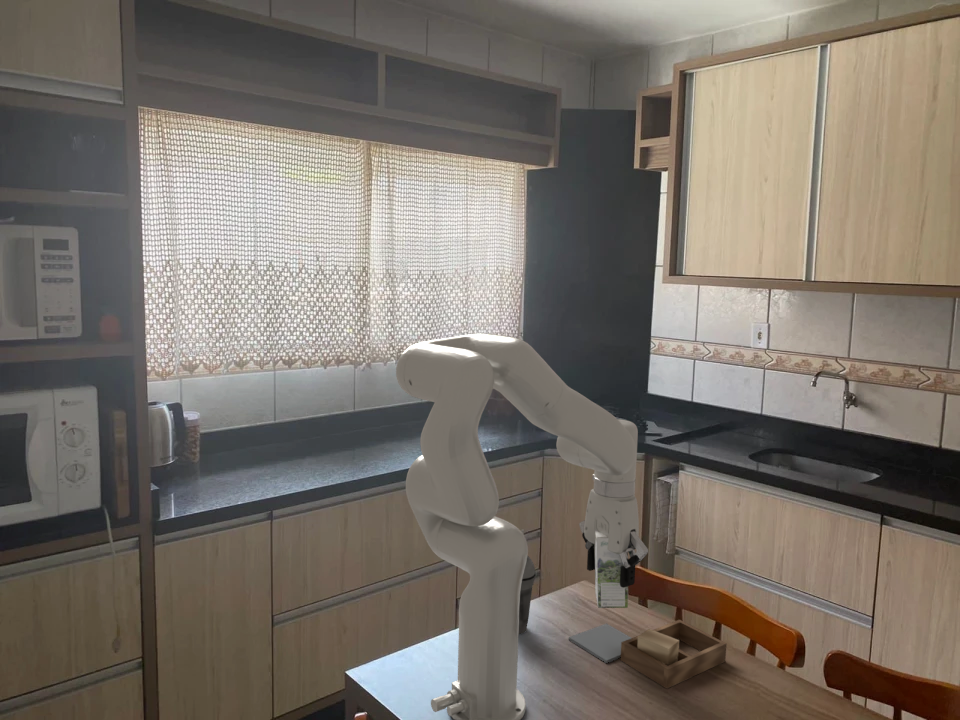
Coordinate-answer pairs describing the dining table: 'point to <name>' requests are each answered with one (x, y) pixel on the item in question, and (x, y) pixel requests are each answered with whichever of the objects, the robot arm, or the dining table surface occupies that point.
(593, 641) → the plate
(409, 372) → the robot arm
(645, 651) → the offcut upper
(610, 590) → the syrup box
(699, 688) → the dining table surface
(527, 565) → the beverage cup
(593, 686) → the dining table surface
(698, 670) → the divided wooden tray
